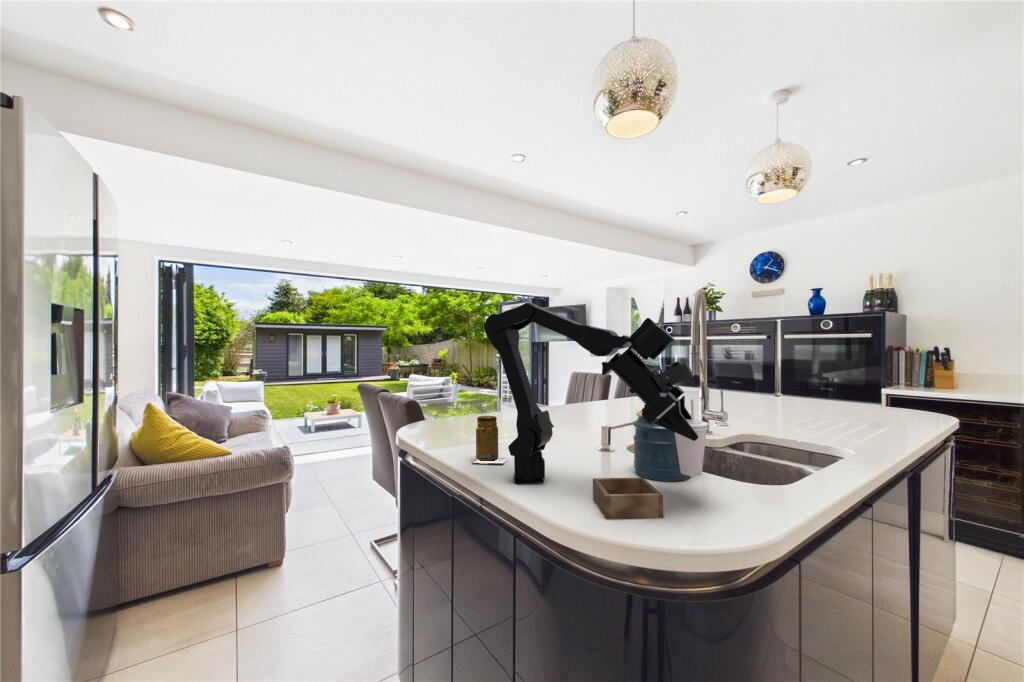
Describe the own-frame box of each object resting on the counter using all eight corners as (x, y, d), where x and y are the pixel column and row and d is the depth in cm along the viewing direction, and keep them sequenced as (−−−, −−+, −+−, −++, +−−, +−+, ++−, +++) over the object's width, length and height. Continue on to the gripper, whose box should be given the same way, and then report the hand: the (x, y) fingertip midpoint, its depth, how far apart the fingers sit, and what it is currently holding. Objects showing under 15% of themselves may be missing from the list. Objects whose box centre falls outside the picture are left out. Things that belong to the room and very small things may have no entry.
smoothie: (713, 479, 75) (711, 402, 75) (676, 477, 76) (674, 402, 76) (704, 468, 81) (703, 397, 81) (670, 467, 83) (668, 397, 83)
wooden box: (606, 519, 72) (605, 496, 72) (593, 498, 82) (592, 478, 82) (663, 517, 72) (663, 494, 72) (643, 497, 82) (642, 477, 82)
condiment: (478, 457, 115) (478, 414, 116) (508, 458, 114) (507, 415, 114) (471, 464, 108) (471, 418, 109) (502, 465, 107) (502, 419, 107)
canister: (694, 484, 90) (693, 403, 90) (633, 479, 94) (631, 402, 94) (688, 468, 102) (687, 397, 103) (634, 464, 106) (633, 396, 107)
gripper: (660, 347, 73) (732, 414, 67) (672, 348, 89) (731, 402, 84) (615, 390, 76) (680, 457, 71) (635, 383, 93) (689, 437, 87)
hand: (697, 435), depth 78 cm, fingers closed on smoothie, 6 cm apart
